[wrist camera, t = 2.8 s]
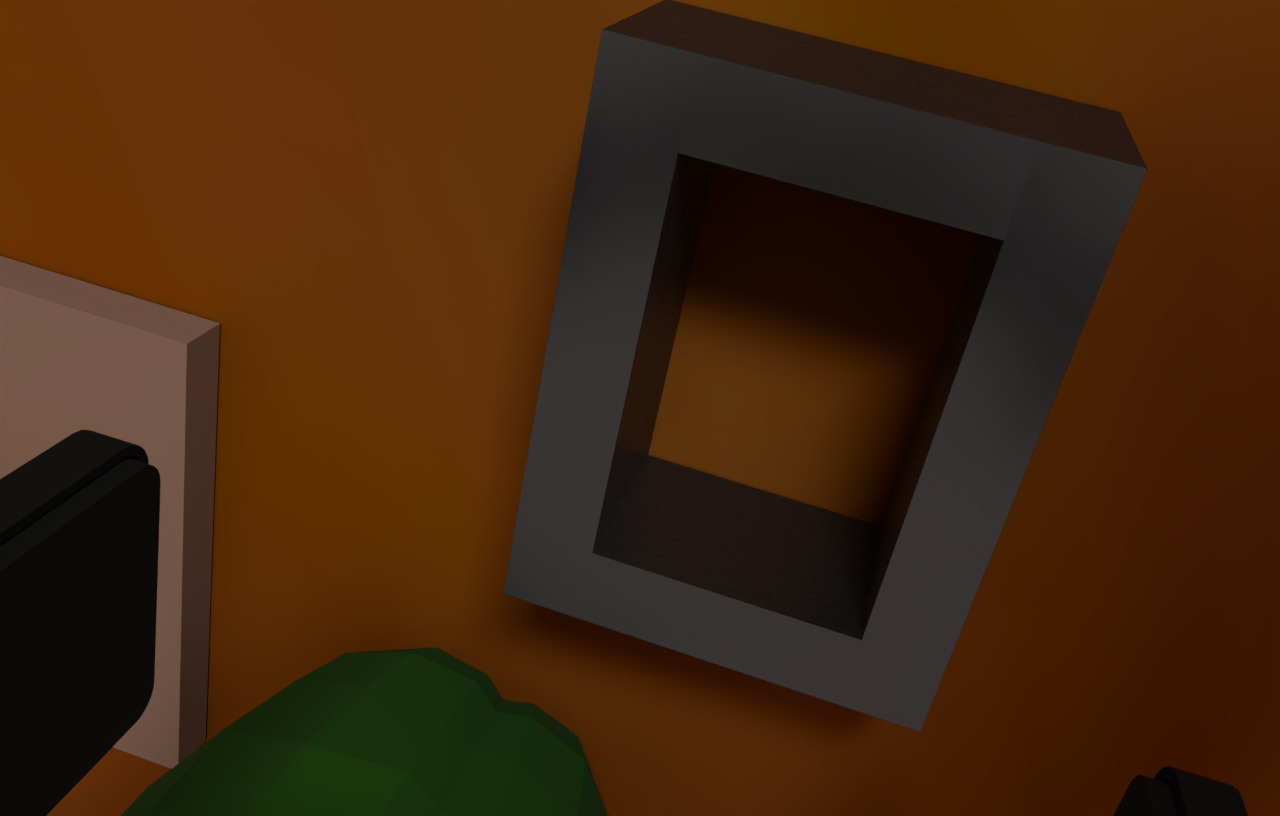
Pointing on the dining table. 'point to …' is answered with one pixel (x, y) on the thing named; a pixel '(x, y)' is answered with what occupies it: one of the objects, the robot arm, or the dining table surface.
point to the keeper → (136, 413)
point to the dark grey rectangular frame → (955, 401)
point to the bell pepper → (383, 749)
